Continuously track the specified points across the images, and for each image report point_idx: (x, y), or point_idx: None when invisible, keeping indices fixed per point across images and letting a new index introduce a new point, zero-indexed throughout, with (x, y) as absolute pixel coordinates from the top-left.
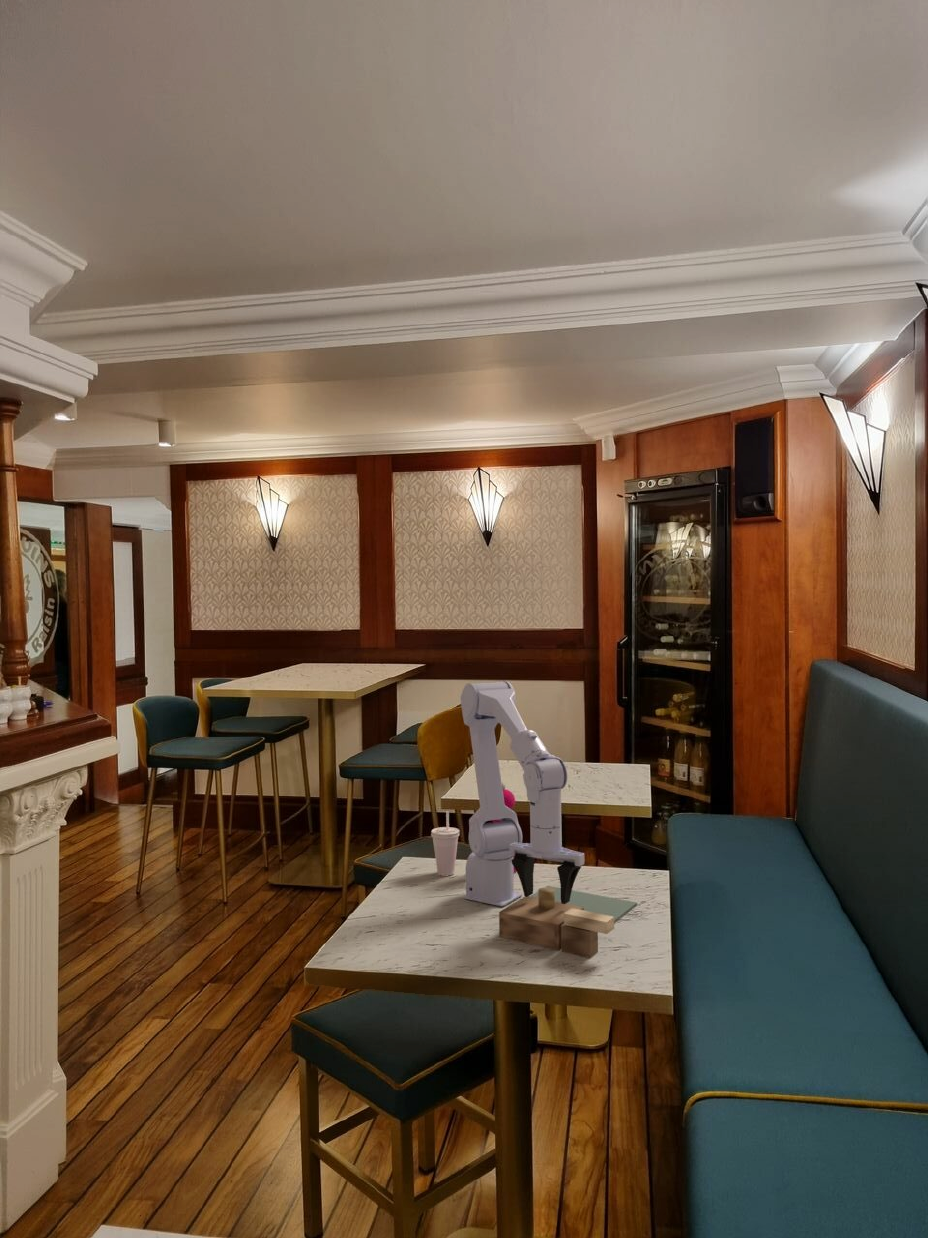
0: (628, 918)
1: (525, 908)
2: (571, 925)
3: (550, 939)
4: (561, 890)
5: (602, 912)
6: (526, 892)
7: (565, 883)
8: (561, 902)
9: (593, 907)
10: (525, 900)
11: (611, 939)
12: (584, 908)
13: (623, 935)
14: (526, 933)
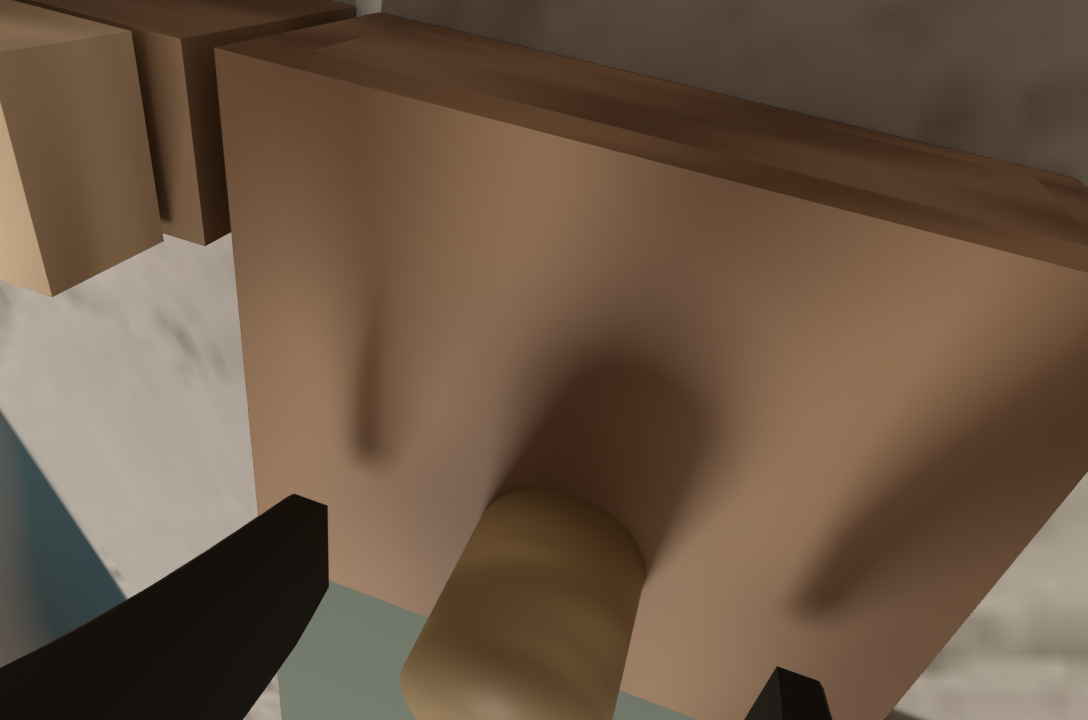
0: None
1: (780, 486)
2: (25, 7)
3: (420, 42)
4: (192, 613)
5: (370, 662)
6: (787, 718)
7: (8, 680)
8: (315, 512)
9: None
10: (826, 682)
11: (178, 348)
12: None
13: (158, 416)
14: (716, 120)
